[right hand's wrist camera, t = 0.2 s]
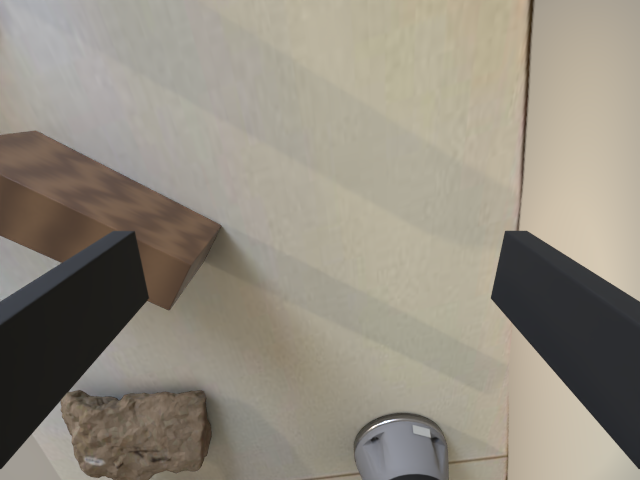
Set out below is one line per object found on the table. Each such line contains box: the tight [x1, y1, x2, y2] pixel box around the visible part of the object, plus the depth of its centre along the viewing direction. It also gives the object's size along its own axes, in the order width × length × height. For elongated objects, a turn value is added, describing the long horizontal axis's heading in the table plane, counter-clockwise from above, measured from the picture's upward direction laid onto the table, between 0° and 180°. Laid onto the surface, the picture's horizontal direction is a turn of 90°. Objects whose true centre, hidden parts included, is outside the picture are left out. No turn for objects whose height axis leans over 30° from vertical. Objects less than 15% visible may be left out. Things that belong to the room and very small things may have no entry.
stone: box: [61, 390, 211, 480], centre depth 53 cm, size 21×15×6 cm
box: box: [0, 131, 221, 310], centre depth 37 cm, size 23×6×11 cm, turn 60°
